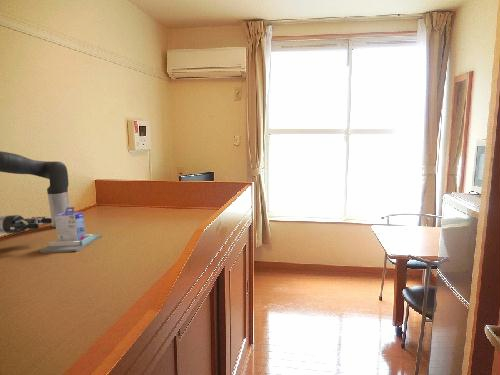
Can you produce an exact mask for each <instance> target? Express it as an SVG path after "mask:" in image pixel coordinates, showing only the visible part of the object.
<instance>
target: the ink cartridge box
mask: <svg viewBox="0 0 500 375" xmlns="http://www.w3.org/2000/svg"><path fill="white" fill-rule="evenodd" d="M68 209H71V211H67V210H68ZM74 211H75V207H73V206H71V207H67V208H66V212H65V213H60V214H57V215H55V221H56V227H55V228H56V229H55V230H56V237H57V238H56V239H57V242H61V241H81V240H83V239H85V238H86V235H87V234H86V226H85V218H84V212H83V211H82V212H81V211H80V212H79V211H78V212H76V211H75V212H74Z"/></svg>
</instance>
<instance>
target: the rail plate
mask: <svg viewBox="0 0 500 375" xmlns="http://www.w3.org/2000/svg"><path fill="white" fill-rule="evenodd" d="M101 236H102V237H103V234H95V233H92V234H91V233H90V234H86V238H85V239H83V240H81V241H61V242H58V241H49V242H48V246H46V247H44V248H42V249H40V250H39V252H40V253H41V254H42V253H47V254H48V253H68V252H69V253H72V252H71V251H77V252H78V250H79V251H80V250H82V249H84V248H85V247H88V244H89V245H90V244H92V243H93V241H94V242H95V241H97V240H98V238H99V237H100V238H102V237H101ZM100 238H99V239H100ZM96 239H97V240H96ZM91 242H92V243H91ZM83 247H84V248H83Z"/></svg>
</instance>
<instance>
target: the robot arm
mask: <svg viewBox="0 0 500 375" xmlns="http://www.w3.org/2000/svg"><path fill="white" fill-rule="evenodd" d="M0 172H1V173H6V174H15V175H31V176H36V177H40V178H44V179H47V180H49V186H48V187H47V188H46V191H47V200H48V205H49V213H50V217H46V216H32V217H28V218H24V217H23V216H22V215H18V214H15V215H12V214H11V215H0V234H20V233H21V232H24V231H29V230H36V229H37V230H38V229H39V228H40V225H41V224H42V225H43V224H44V225H45V224H51V225H52V226H51V227H52V228H56V221H55V215H57V214H60V213H65V212H66V208H67V207H72V206H71V204H70V199H69V191H68V190H69V189H68V188H69V174H68V168H67V166H66V164H65V163H64V162H62V161H55V160H54V161H43V160H35V159H31V158H28V157H26V156H23V155H21V154H20V155H19V154H16V153H13V152H8V151H1V150H0ZM67 211H72V209H68V210H67Z"/></svg>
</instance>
